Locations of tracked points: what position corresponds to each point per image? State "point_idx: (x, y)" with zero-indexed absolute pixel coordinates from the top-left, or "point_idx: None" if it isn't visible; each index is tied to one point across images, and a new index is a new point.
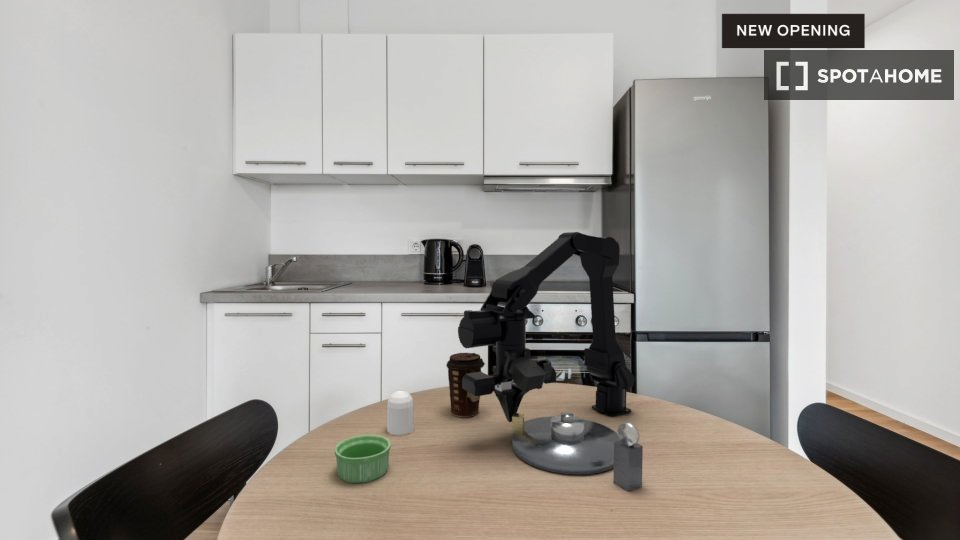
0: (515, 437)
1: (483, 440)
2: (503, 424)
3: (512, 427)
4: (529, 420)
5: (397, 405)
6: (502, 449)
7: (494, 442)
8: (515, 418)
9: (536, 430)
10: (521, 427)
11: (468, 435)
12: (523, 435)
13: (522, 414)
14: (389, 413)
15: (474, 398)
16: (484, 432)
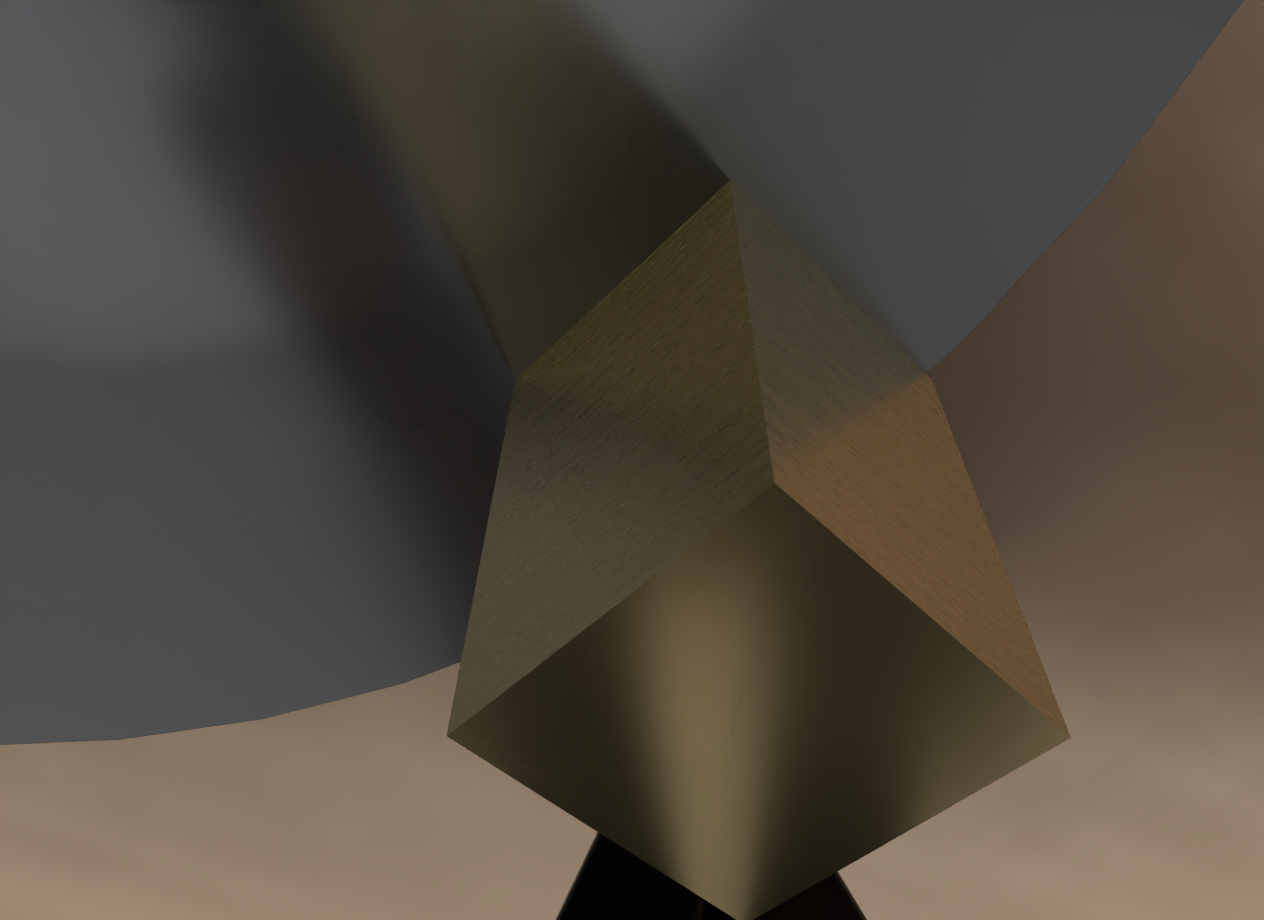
0: (1066, 107)
1: (1180, 636)
2: (477, 899)
3: (961, 467)
4: (91, 718)
5: None
6: (1214, 166)
7: (1087, 494)
8: (970, 618)
9: (188, 197)
10: (770, 299)
11: (1220, 850)
12: (759, 102)
13: (560, 714)
14: None
15: None
16: (935, 828)
